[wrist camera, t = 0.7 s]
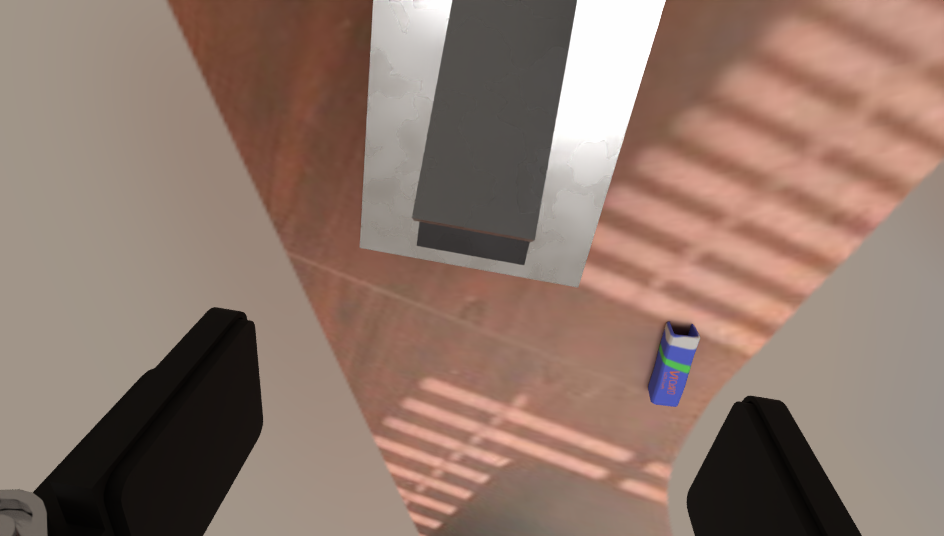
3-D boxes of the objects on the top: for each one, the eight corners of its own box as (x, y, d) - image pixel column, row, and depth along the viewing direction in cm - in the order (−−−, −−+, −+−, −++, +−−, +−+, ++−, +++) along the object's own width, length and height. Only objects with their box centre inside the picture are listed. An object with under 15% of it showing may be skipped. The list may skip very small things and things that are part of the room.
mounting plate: (392, -195, 24) (362, -229, 20) (699, -140, 24) (737, -162, 20) (366, 237, 35) (343, 275, 31) (576, 275, 35) (583, 319, 31)
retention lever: (481, -136, 23) (481, -162, 22) (594, -115, 23) (602, -141, 22) (414, 221, 23) (411, 217, 21) (531, 242, 23) (535, 239, 21)
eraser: (694, 321, 36) (703, 339, 35) (672, 388, 39) (679, 408, 38) (665, 318, 36) (672, 336, 35) (645, 385, 39) (650, 404, 38)
